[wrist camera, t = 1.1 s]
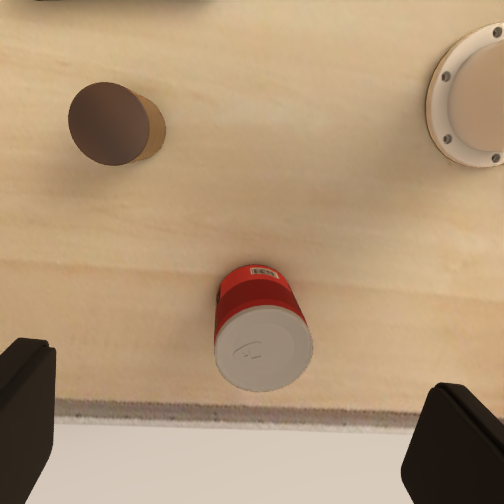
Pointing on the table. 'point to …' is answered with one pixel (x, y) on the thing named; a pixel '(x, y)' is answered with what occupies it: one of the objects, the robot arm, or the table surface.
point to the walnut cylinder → (115, 124)
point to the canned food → (260, 330)
